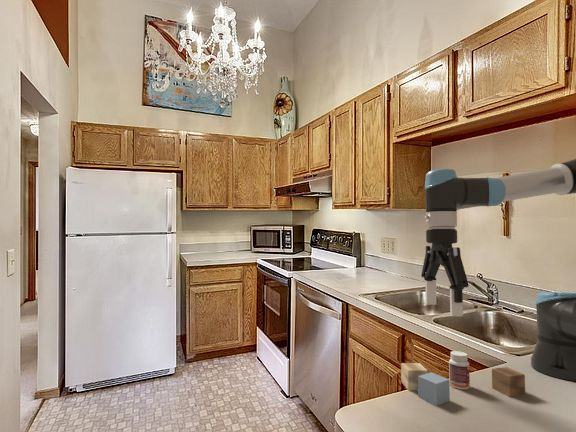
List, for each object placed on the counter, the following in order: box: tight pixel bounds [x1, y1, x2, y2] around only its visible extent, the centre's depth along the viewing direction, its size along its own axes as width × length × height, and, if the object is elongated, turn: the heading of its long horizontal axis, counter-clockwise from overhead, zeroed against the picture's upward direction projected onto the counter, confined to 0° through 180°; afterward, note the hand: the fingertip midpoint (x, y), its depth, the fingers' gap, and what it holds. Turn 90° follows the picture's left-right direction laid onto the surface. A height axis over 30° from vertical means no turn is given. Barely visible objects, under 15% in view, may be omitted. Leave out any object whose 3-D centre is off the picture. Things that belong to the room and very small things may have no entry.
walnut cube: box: [491, 366, 526, 398], centre depth 88 cm, size 5×5×5 cm
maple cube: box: [400, 362, 429, 391], centre depth 90 cm, size 5×5×5 cm
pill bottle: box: [448, 350, 471, 391], centre depth 90 cm, size 5×5×8 cm
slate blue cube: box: [417, 371, 451, 407], centre depth 83 cm, size 5×5×5 cm
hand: (443, 309), depth 90 cm, fingers open, 13 cm apart
